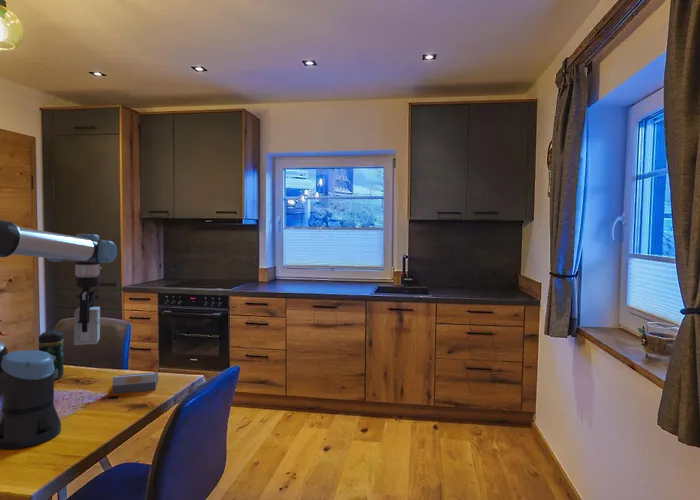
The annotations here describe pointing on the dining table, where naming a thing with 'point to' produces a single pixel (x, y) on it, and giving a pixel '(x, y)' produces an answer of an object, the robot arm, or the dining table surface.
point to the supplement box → (94, 326)
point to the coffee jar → (53, 349)
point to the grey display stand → (135, 382)
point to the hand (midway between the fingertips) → (87, 337)
